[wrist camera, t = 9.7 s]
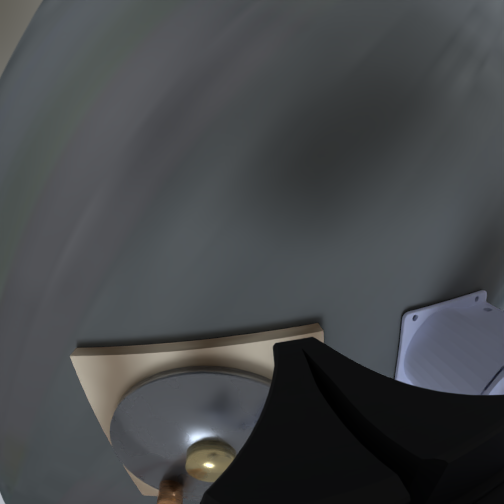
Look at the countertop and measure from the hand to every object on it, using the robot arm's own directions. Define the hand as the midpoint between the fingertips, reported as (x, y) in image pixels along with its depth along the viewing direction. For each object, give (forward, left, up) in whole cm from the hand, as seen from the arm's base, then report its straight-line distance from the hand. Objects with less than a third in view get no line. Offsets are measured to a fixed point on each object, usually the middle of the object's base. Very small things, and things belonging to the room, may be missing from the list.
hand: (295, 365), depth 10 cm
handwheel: (+5, +12, -8) cm, 15 cm away
